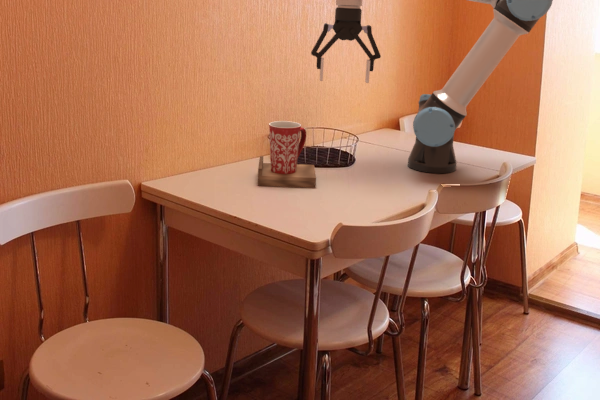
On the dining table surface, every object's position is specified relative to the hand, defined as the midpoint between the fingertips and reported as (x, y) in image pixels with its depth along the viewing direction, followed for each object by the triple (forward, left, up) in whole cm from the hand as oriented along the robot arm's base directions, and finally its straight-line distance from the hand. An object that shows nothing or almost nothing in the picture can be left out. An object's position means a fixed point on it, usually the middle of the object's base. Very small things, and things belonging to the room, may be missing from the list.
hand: (344, 81), depth 207 cm
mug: (+16, +15, -24) cm, 32 cm away
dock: (+16, +15, -27) cm, 35 cm away
